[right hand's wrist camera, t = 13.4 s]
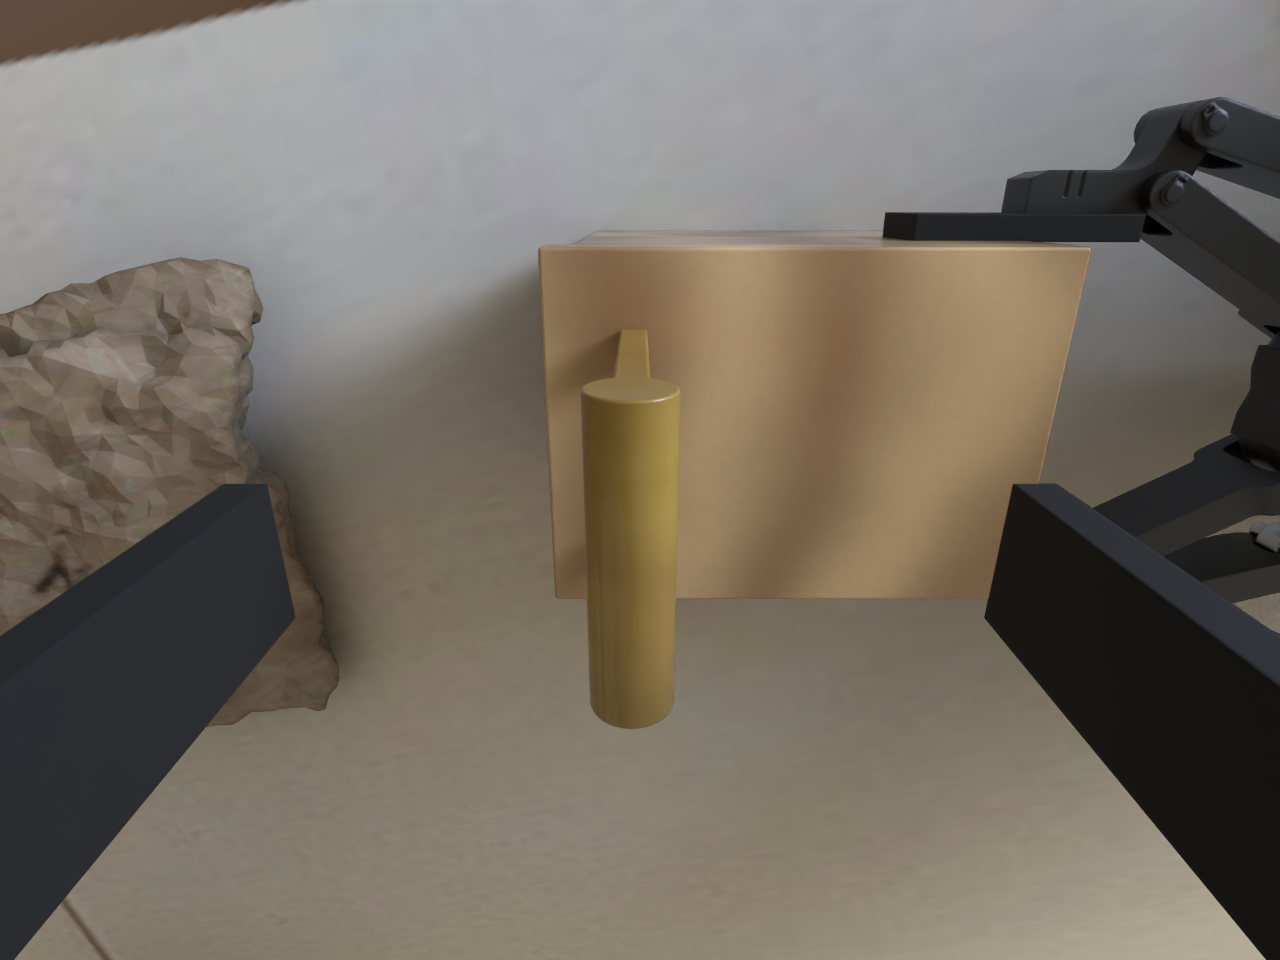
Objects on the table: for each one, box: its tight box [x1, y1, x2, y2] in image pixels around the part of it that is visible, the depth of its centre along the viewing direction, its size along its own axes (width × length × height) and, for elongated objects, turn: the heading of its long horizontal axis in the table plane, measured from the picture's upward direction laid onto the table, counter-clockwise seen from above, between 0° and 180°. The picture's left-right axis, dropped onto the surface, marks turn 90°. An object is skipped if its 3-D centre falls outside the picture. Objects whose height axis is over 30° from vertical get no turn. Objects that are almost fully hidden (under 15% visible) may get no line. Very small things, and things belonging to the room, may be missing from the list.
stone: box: [0, 258, 339, 727], centre depth 29 cm, size 21×15×6 cm
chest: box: [575, 231, 1062, 245], centre depth 25 cm, size 13×10×10 cm
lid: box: [538, 245, 1091, 729], centre depth 16 cm, size 14×10×9 cm
